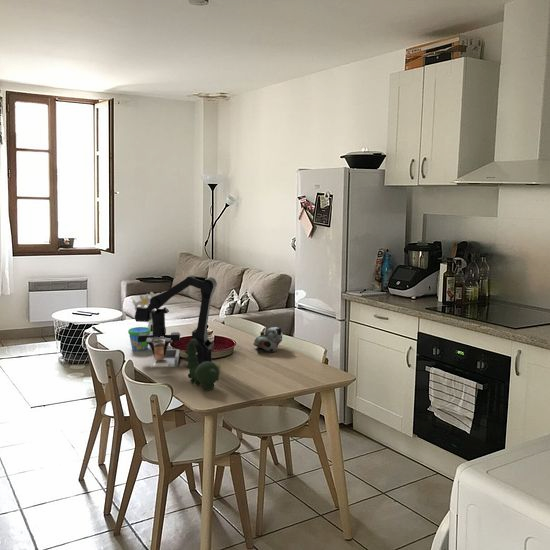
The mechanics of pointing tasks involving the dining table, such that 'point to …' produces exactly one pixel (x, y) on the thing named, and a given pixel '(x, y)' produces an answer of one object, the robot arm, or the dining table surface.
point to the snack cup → (134, 338)
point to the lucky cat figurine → (269, 339)
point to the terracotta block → (159, 351)
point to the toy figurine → (200, 368)
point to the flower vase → (146, 302)
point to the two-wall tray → (167, 359)
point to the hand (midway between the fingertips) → (159, 355)
